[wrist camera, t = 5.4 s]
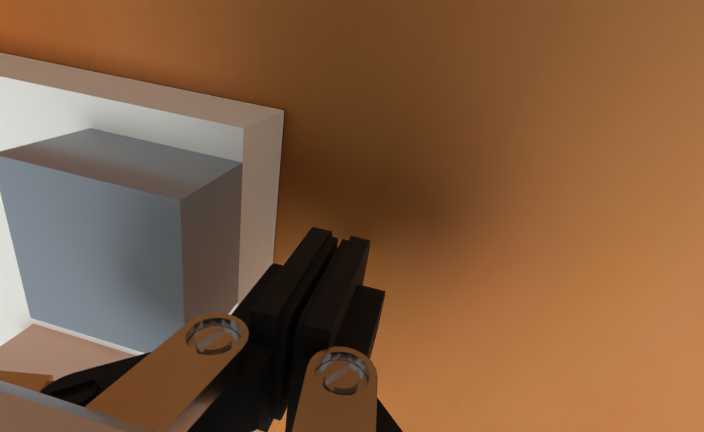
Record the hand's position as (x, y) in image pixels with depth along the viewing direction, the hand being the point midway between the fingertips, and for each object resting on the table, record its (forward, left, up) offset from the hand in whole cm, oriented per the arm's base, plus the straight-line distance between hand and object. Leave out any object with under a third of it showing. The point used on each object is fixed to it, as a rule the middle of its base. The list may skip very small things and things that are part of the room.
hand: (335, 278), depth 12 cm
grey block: (+6, 0, -1) cm, 6 cm away
